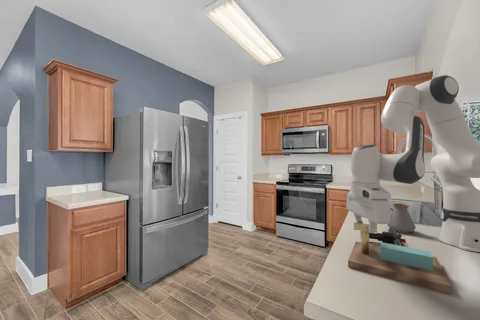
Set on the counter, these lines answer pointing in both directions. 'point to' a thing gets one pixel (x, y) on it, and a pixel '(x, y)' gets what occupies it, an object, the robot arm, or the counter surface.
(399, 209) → the coffee pot
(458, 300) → the counter surface
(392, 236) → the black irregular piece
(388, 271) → the base
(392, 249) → the cover
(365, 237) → the t key
